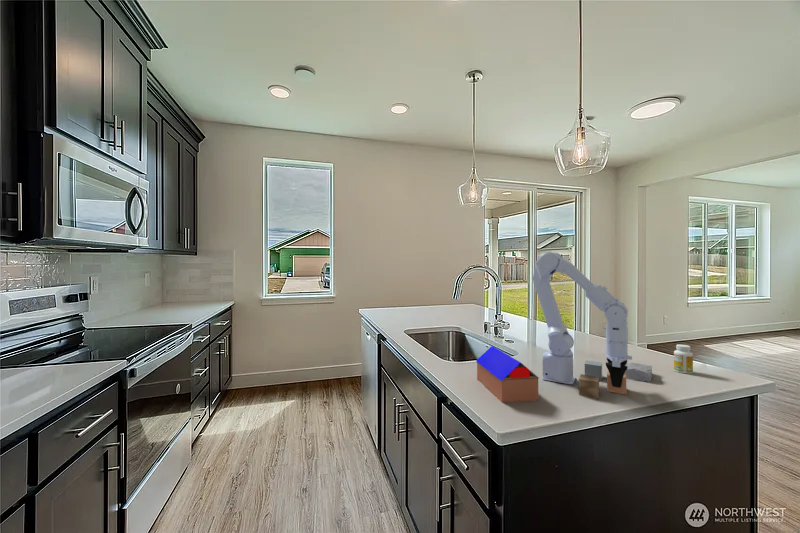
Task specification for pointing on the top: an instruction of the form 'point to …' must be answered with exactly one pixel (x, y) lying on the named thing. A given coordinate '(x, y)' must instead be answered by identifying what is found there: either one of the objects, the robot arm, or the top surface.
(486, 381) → the house
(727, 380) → the top surface
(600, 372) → the slate block
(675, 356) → the supplement bottle
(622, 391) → the terracotta block
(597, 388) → the walnut block
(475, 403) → the top surface
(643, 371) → the stone block
